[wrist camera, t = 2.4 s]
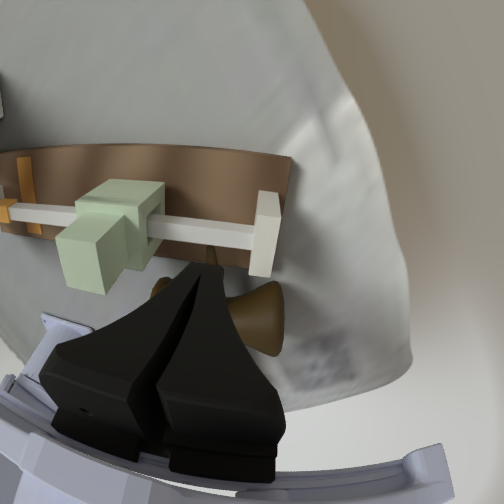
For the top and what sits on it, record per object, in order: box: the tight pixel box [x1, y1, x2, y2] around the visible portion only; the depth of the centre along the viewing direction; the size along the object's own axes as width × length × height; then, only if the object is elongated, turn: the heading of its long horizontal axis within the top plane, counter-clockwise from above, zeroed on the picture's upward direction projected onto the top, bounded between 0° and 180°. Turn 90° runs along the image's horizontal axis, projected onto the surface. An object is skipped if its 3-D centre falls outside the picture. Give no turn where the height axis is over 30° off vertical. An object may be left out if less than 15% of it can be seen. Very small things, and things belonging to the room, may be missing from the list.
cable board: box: [0, 144, 292, 268], centre depth 18 cm, size 27×8×1 cm, turn 83°
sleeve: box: [55, 179, 165, 295], centre depth 14 cm, size 4×4×7 cm
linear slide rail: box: [0, 185, 281, 278], centre depth 16 cm, size 27×4×5 cm, turn 83°
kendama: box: [150, 245, 285, 357], centre depth 22 cm, size 6×10×20 cm
